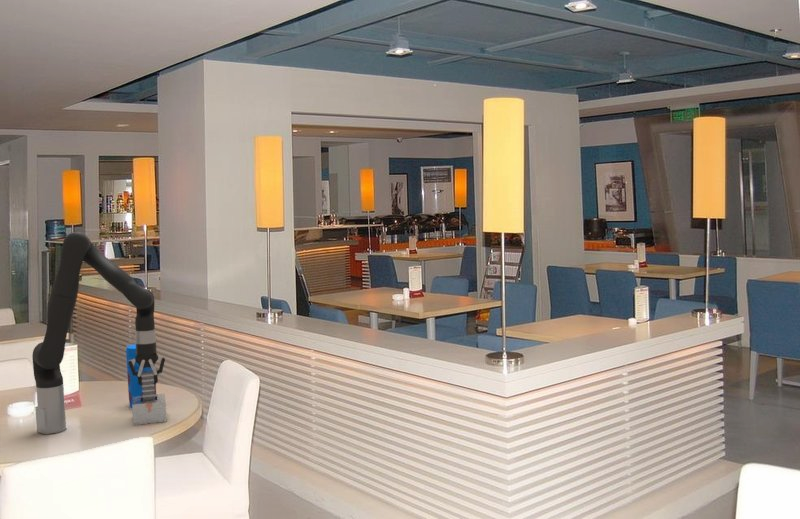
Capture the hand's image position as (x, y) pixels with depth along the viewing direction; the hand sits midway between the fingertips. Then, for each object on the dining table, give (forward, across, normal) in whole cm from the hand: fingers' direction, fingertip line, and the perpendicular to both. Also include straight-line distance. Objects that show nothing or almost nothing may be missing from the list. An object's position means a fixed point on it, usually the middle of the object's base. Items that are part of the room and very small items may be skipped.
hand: (148, 384), depth 304 cm
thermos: (+14, +3, -21) cm, 26 cm away
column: (+11, 0, 0) cm, 11 cm away
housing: (+14, 0, 0) cm, 14 cm away
